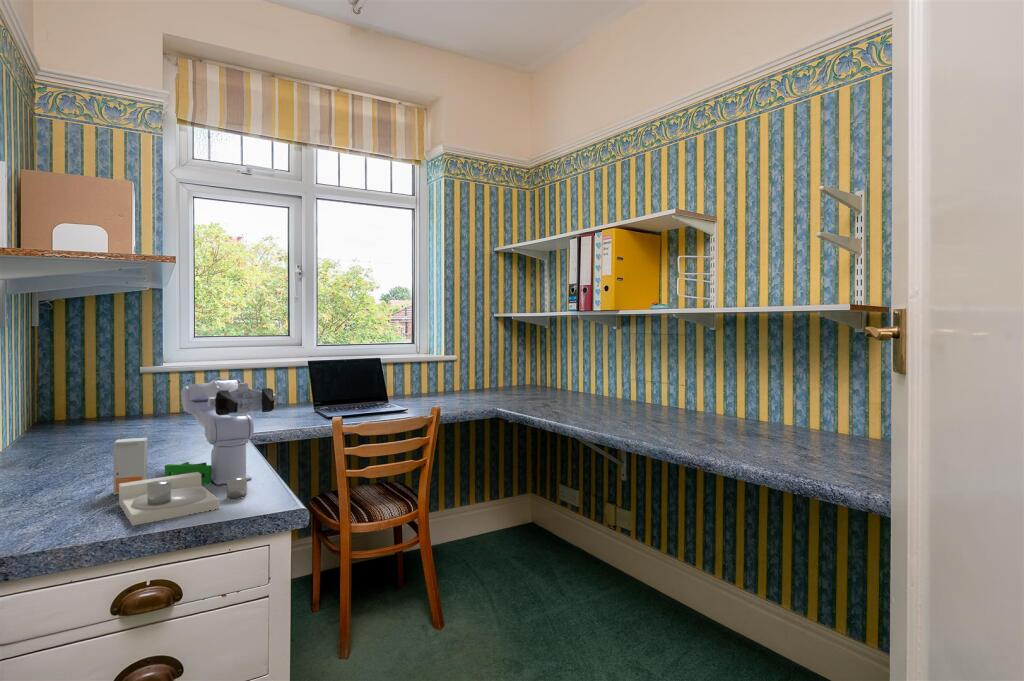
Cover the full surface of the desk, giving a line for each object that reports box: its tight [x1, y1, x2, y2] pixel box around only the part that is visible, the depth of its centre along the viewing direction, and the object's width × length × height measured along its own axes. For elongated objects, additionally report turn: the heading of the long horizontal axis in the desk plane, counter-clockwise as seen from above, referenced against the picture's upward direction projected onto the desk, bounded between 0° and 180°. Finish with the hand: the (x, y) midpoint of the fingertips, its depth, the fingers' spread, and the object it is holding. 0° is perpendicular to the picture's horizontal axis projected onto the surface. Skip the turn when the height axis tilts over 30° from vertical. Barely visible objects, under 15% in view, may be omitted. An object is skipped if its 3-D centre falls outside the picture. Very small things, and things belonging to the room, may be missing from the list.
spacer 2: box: [226, 476, 248, 500], centre depth 125 cm, size 4×4×4 cm
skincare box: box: [112, 437, 149, 496], centre depth 128 cm, size 6×4×12 cm
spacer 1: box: [147, 480, 171, 506], centre depth 112 cm, size 4×4×4 cm
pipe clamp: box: [164, 461, 213, 485], centre depth 137 cm, size 11×4×5 cm, turn 85°
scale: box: [118, 472, 220, 527], centre depth 117 cm, size 17×15×4 cm
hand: (254, 406), depth 123 cm, fingers open, 7 cm apart
